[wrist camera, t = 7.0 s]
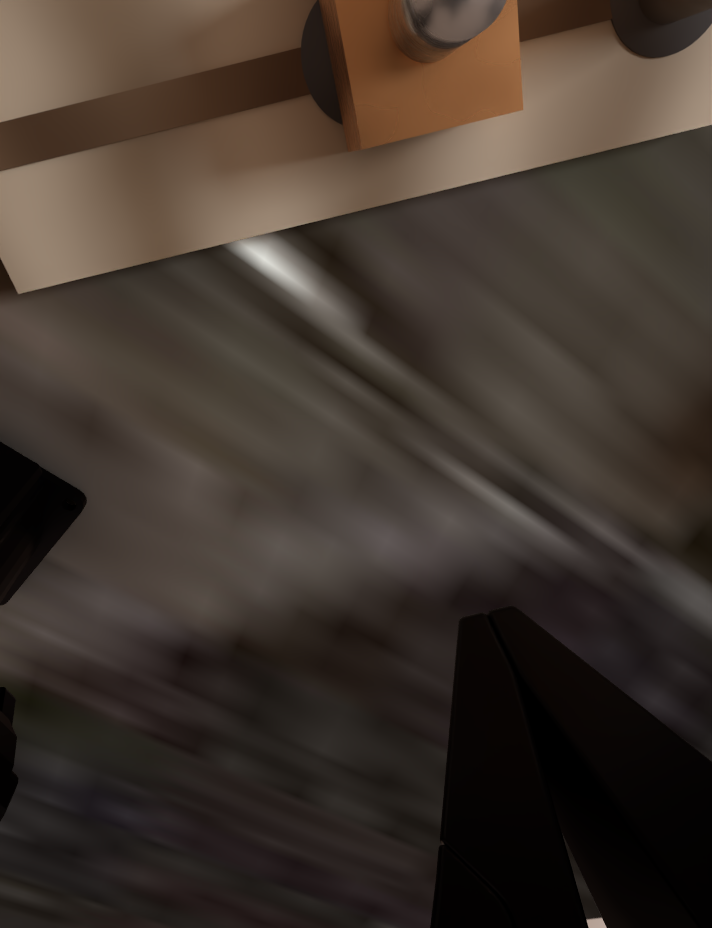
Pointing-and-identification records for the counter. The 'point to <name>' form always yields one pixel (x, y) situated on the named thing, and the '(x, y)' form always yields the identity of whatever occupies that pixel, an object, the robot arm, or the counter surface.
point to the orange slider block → (421, 65)
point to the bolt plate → (285, 120)
